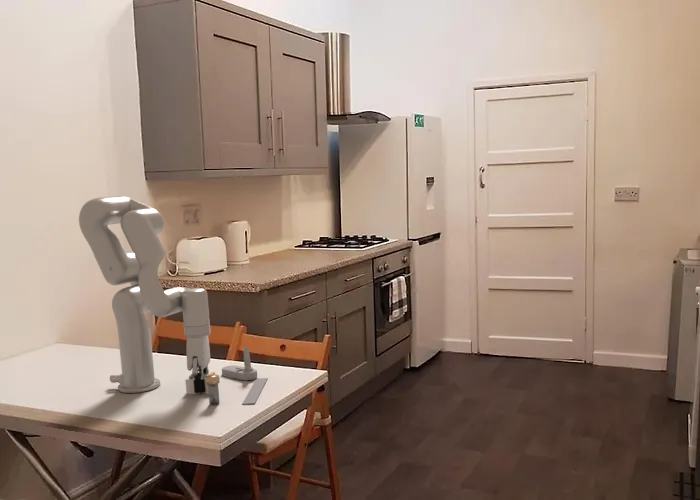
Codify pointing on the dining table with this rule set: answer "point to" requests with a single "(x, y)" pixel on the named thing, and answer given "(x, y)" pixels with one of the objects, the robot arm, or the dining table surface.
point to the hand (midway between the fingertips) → (202, 389)
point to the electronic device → (241, 369)
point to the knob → (213, 389)
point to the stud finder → (191, 384)
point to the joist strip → (255, 391)
